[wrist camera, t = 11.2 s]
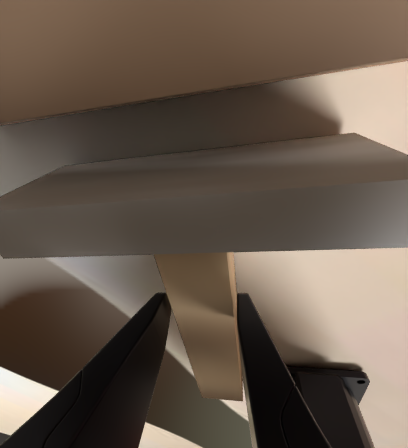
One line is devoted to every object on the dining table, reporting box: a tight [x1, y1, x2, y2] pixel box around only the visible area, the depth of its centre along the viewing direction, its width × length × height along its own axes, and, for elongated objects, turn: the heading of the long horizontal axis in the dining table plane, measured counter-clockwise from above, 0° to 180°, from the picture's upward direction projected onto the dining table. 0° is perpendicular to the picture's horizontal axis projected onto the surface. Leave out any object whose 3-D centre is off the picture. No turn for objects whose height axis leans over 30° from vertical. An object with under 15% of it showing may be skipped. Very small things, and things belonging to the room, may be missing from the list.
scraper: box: [0, 133, 408, 401], centre depth 10 cm, size 14×11×4 cm
